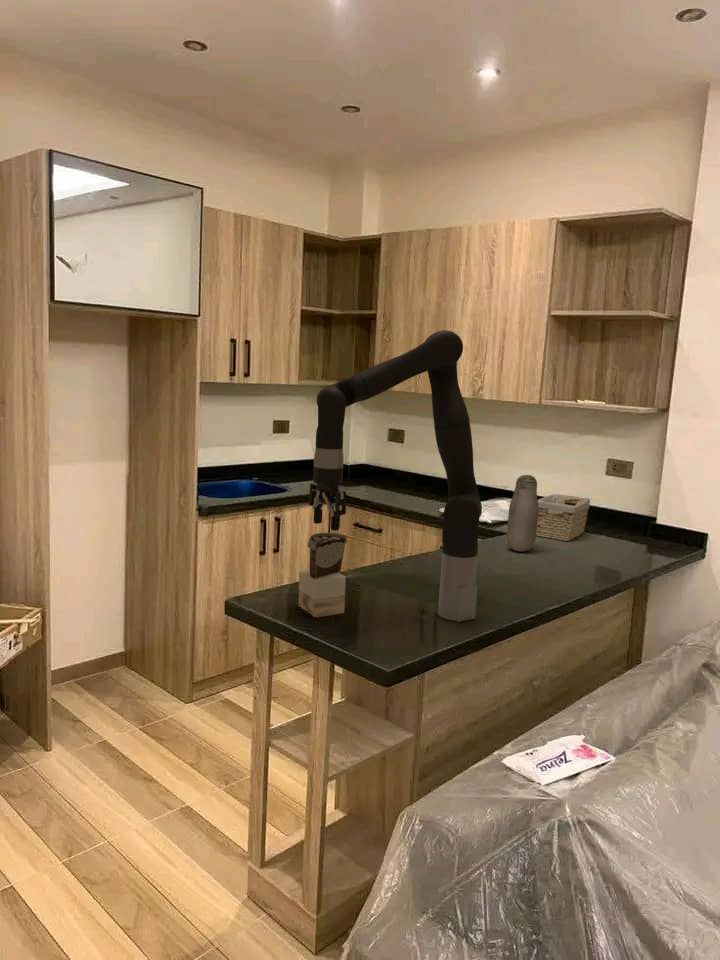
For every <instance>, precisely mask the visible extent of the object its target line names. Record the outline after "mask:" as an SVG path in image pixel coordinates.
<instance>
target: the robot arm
mask: <svg viewBox="0 0 720 960" xmlns="http://www.w3.org/2000/svg"><path fill="white" fill-rule="evenodd" d="M463 350H464V344H463V340H462V338H461V337H460V336H459V334H457V333H455V332H454V331H452V330H446V329H443V330H438V331H435V332H434V333H432V334H431V335H429V336H428V337H427V338H426V339H425V341H424V342H422V343H421V344H419V345H418V346H416V347H414V348H413V349H411V350H409V351H407V352H405V353H402V354H400V355H398V356H396V357H395V356H394V357H393V358H391V359H388V360H385V361H383V362H380V363H378V364H375V365H373V366H371V367H369V368H366V369H364V370H362V371H360V372H357V373H356V374H354V375H352V376H350V377H349V378H347V379H343V380H340V381H338V382H335V383H333V384H331V385H330V384H329V385H328V386H325V387H323V388H322V389H321V390H319V392H318V394H317V396H316V406H317V427H316V432H315V449H314V455H313V477H312V478H313V479H312V480H313V483H310V485H309V497H308V504H309V506H310V507H311V506H312V510H313V523H314V524H315V525H317V524H318V525H319V524H322V522H323V507H324V506H325V505H326V507H327V509H328V510H329V512H330V514H331V516H330V517H331V518H330V530H331V531H333V532H335V531H339V530H340V525H341V523H340V522H341V516H344V515H345V516H346V514H347V492H346V491H345V490H342V491H340V490H339V486H341V485H342V484H343V477H344V476H343V475H344V474H343V473H344V424H345V417H346V408H347V407H349V406H352V405H354V404H357V403H359V402H364V401H367V400H370V399H372V398H374V397H376V396H378V395H380V394H383V393H385V392H386V391H388V390H391V389H392V388H394V387H395V386H398V385H399V384H401V383H403V382H405V381H407V380H409V379H411V378H413V377H416V376H417V375H420V374H423V373H425V372H427V374H428V375H427V376H428V379H429V384H430V390H431V405H432V416H433V417H432V418H433V427H434V433H435V440H436V445H437V450H438V454H439V457H440V459H441V462H442V465H443V467H444V471H445V475H446V481H447V491H448V493H447V495H448V499H447V500H448V501H446V504H445V505H444V509H443V517H442V537H441V541H442V544H441V545H442V554H441V566H440V567H441V568H440V578H439V579H440V582H439V594H438V607H437V614H438V616H439V617H441V618H443V619H446V620H449V621H454V622H456V623H461V622H465V621H469V620H470V621H471V620H475V619H476V611H477V598H478V587H479V585H478V584H477V583H476V575H477V565H478V563H477V562H478V553H479V540H478V539H479V526H480V518H481V516H482V512H483V506H482V500H481V498H480V497H481V496H480V493H479V490H478V486H477V481H476V476H475V469H474V449H473V448H474V446H473V436H472V435H473V434H472V429H471V422H470V416H469V411H468V409H467V406H466V403H465V399H464V397H463V395H462V393H461V389H460V386H459V379H458V378H459V377H458V367H457V364H458V363H457V362H458V361H459V360H460V359H461V357H462V354H463V352H464V351H463Z"/></svg>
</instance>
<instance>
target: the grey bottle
mask: <svg viewBox="0 0 720 960" xmlns="http://www.w3.org/2000/svg"><path fill="white" fill-rule="evenodd" d="M537 481H538V480H537V479H536V477H535V476H534V475H530V474H522V475H520V476H519V477H517V479H516V481H515V488H514V491H513V495H512V497H511V500H510V503H509V508H508V515H507V516H508V517H507V518H508V519H507V528H506V529H507V530H506V531H507V533H506V539H507V545H508V546H509V548H510V549H511V550H513V551H516V552H519V553H520V552H521V553H522V552H527V551H529V550H531V549H532V548H533V546H534V545H535V542H536V537H537V535H536V530H537V522H538V514H539V506H538V500H539V499H538V482H537Z"/></svg>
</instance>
